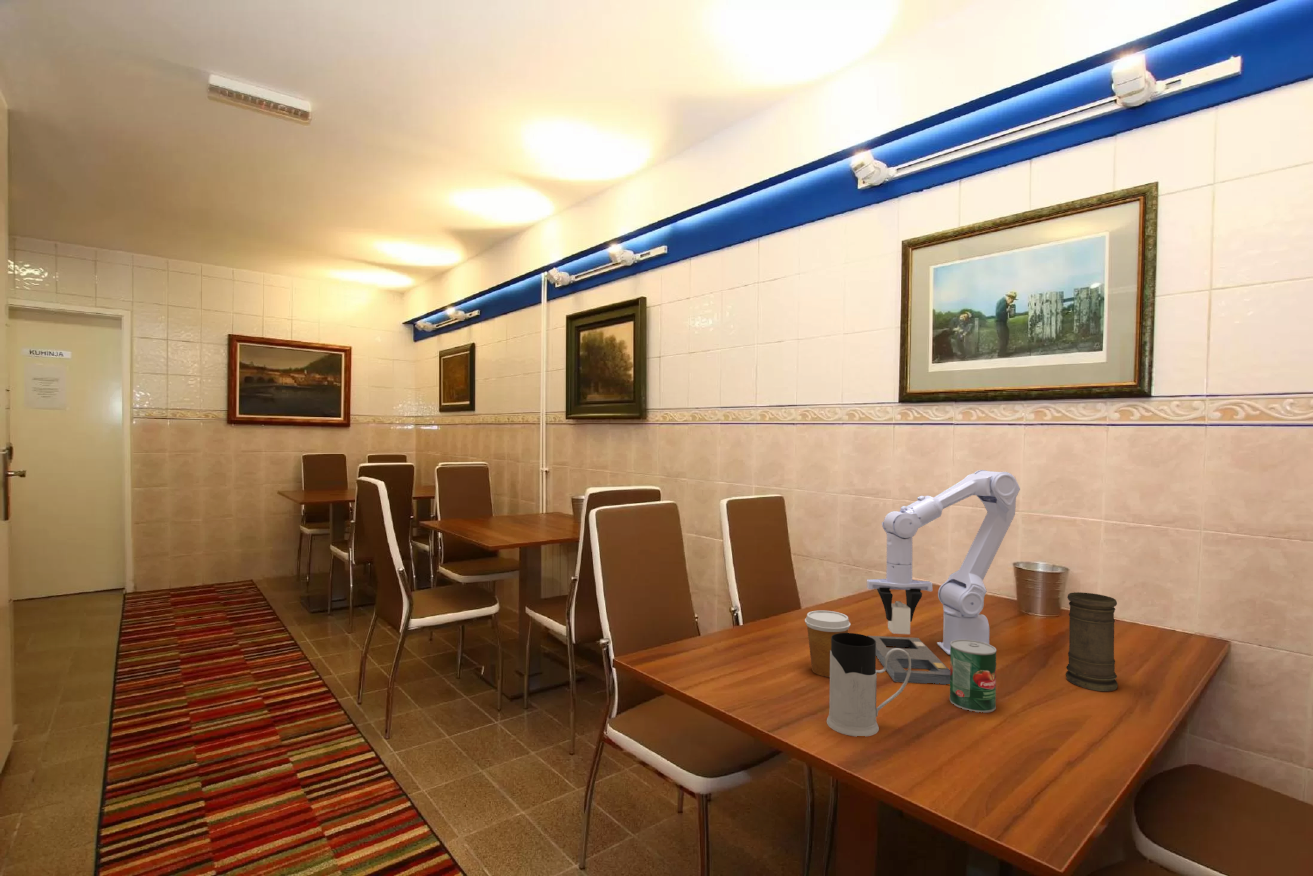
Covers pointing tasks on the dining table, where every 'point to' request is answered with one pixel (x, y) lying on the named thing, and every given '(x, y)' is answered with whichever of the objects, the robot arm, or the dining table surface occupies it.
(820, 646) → the disposable coffee cup
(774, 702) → the dining table surface
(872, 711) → the grey beer mug
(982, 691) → the canned tomato
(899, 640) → the panel
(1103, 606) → the container
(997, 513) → the robot arm
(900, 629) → the plug
